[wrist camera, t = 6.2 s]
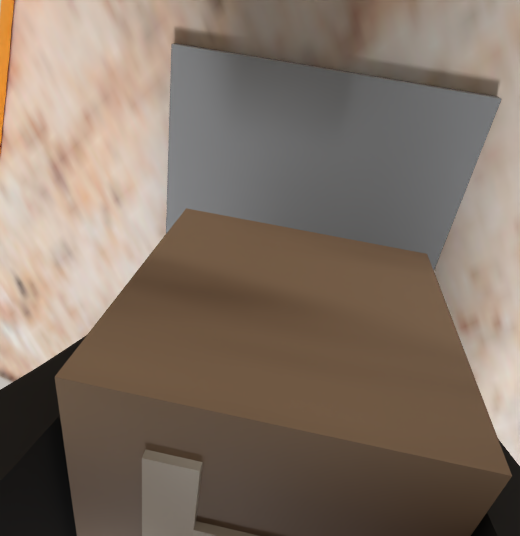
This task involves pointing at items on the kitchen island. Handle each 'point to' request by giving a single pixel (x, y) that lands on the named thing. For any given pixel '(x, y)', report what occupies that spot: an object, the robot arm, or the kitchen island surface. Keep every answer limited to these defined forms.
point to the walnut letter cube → (276, 394)
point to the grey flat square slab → (321, 148)
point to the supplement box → (4, 51)
